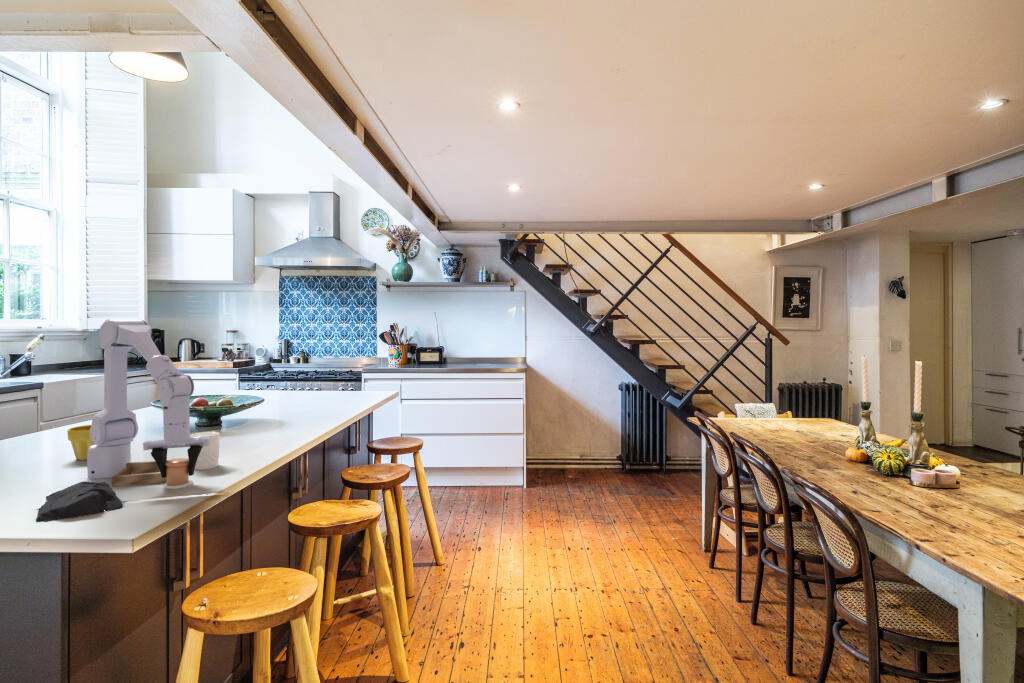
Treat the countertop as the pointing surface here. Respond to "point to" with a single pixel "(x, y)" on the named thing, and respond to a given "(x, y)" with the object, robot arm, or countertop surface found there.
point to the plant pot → (80, 440)
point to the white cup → (208, 451)
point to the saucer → (178, 485)
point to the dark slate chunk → (79, 501)
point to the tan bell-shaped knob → (177, 471)
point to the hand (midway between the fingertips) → (178, 475)
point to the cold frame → (138, 474)
